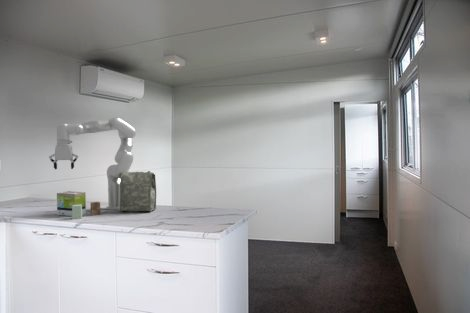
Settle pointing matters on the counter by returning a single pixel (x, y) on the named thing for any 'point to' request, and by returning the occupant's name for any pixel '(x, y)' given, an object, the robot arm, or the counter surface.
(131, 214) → the counter surface
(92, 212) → the walnut block
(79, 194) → the tea box
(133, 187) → the bag
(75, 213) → the green block
